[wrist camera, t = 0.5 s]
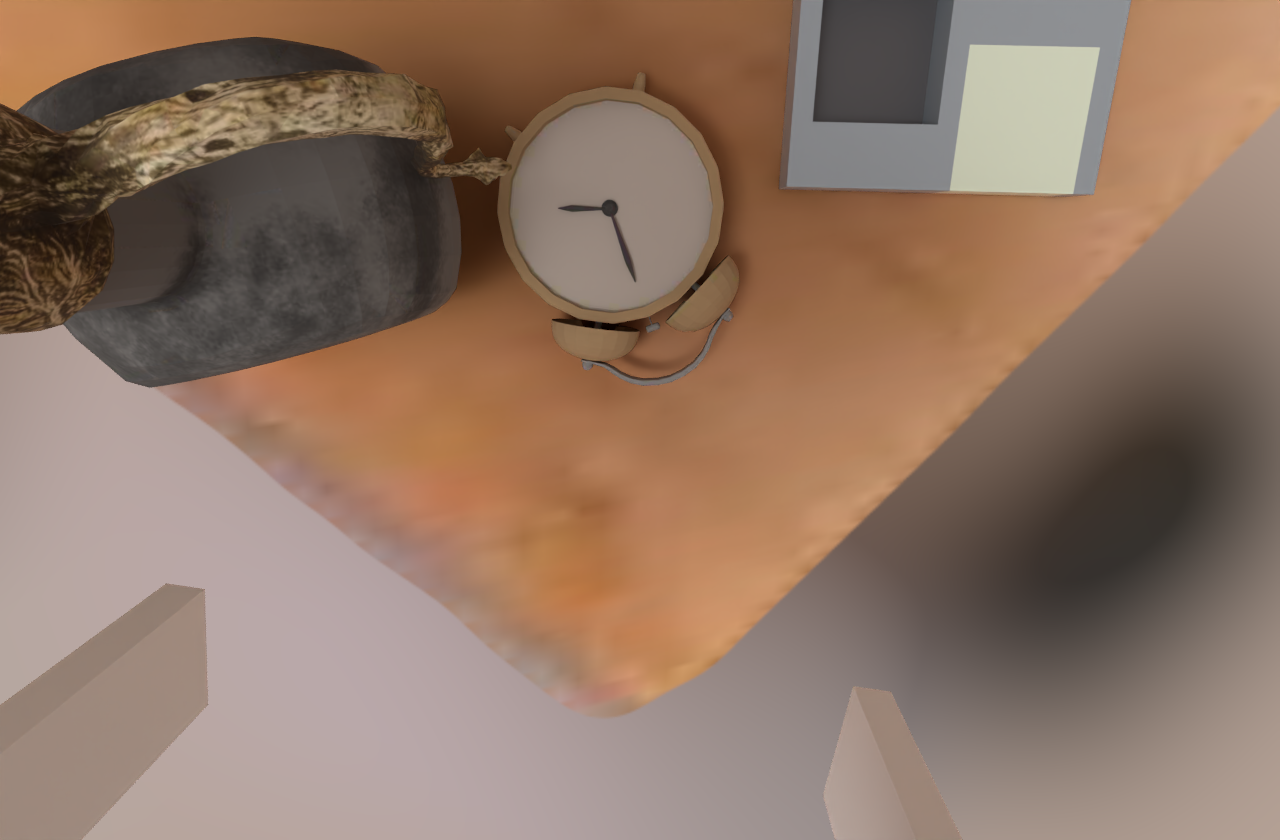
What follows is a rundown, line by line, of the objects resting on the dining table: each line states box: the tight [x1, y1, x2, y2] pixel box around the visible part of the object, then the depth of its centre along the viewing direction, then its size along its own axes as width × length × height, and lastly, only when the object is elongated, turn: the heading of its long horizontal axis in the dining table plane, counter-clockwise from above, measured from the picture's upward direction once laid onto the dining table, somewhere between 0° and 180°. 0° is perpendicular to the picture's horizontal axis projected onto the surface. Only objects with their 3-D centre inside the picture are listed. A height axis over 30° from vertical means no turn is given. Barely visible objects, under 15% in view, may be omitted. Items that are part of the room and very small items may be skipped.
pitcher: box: [0, 37, 512, 387], centre depth 23 cm, size 11×19×30 cm, turn 104°
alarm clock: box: [497, 72, 739, 386], centre depth 36 cm, size 11×5×15 cm
